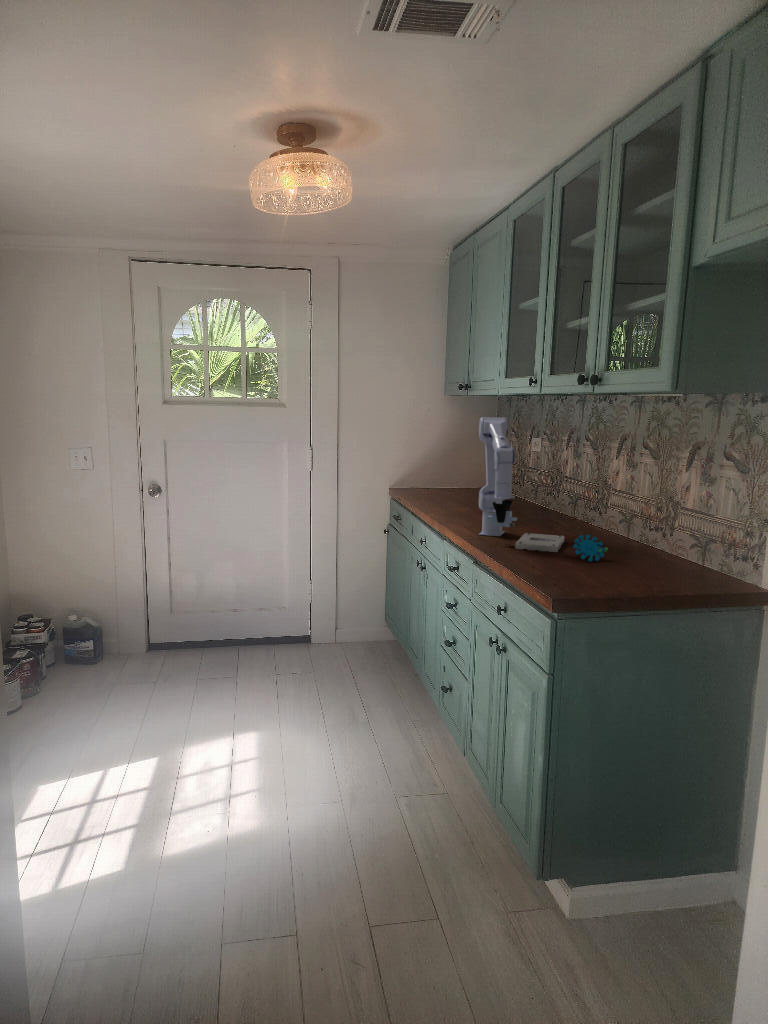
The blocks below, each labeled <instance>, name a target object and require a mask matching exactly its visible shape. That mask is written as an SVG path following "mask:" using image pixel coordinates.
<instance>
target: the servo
mask: <svg viewBox="0 0 768 1024" xmlns="http://www.w3.org/2000/svg"><path fill="white" fill-rule="evenodd" d="M512 516H513V511H512V510H509V511H506V515H505V520H504V523H498V522H497V517H496V511H495V510H494V511H493V515H492V516H487V519H492V526H500V527H502V528H503V527H504V528H510V527H515V522H516V521H517V520H518V517H515V516H514V517H512ZM513 521H514V522H513Z"/></svg>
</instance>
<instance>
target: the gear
mask: <svg viewBox="0 0 768 1024" xmlns="http://www.w3.org/2000/svg"><path fill="white" fill-rule="evenodd" d="M584 538H585V539H584ZM590 538H591V534H586V535H585V537H584V535H583V534H580V535H579V536H578V538H577V537H576V538H575V539H574V540H573V541H574V545H573V549H576V550H575V554H576V555H580V554H582V555H581V556H580V559H581V560H582V561H583V560H584V561H585V559H586V558H587V557H589V558H588V559H587V562H590V563H592V562H593V560H594V561H595V562H599V561H600V559H602V558H603V557H605V553H607V552H608V551H609V548H608V547H607V546H605V547H603V542H602V541H599V542H597V540H598V537H596V536H593V537H592V539H590ZM593 557H594V559H593Z"/></svg>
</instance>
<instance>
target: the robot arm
mask: <svg viewBox="0 0 768 1024" xmlns="http://www.w3.org/2000/svg"><path fill="white" fill-rule="evenodd" d="M507 431H508V419H507V418H506V417H503V416H502V417H483V416H481V417H480V418H479V422H478V437H479V441H481V442H482V443H483V444H484V452H485V453H484V455H485V480H486V481H485V483H486V485H484V486H482V487H481V488H480V489H479V492H478V508H479V509H480V510H481V511H482V519H481V524H482V525H481V532H480V533H478V535H479V536H488V537H489V536H490V537H501V536H502V535H503V534H504V533H505V532H506V531H505V530H503V527H500V526H492V519H487V516H492V515H493V511H494V510H495V511H496V517H497V522H498V523H504V520H505V515H506V511H510V510H511V509H510V508H511V505H512V504H513V502H514V501H513V500H512V499H515V496H516V495H513V494H512V491H513V490H512V486H513V466H514V465H515V462H516V451H515V448H514V447H512V446H511V444H510V441H509V439H508V437H506V434H507Z"/></svg>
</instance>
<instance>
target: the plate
mask: <svg viewBox="0 0 768 1024" xmlns="http://www.w3.org/2000/svg"><path fill="white" fill-rule="evenodd" d="M564 542H565V535H556V534H555V535H554V534H543V533H531V532H529V533H528V532H525V533H523V534H522V536H521V537H519V539H518V540H517V541H515V543H514V544H515V545H514V549H515V550H523V549H527V551H535V550H538V552H547V551H548V553H549V552H551V553H558V552H559V551H558V550H560V549H561V547H562V546H563V544H564ZM561 545H562V546H561Z"/></svg>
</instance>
